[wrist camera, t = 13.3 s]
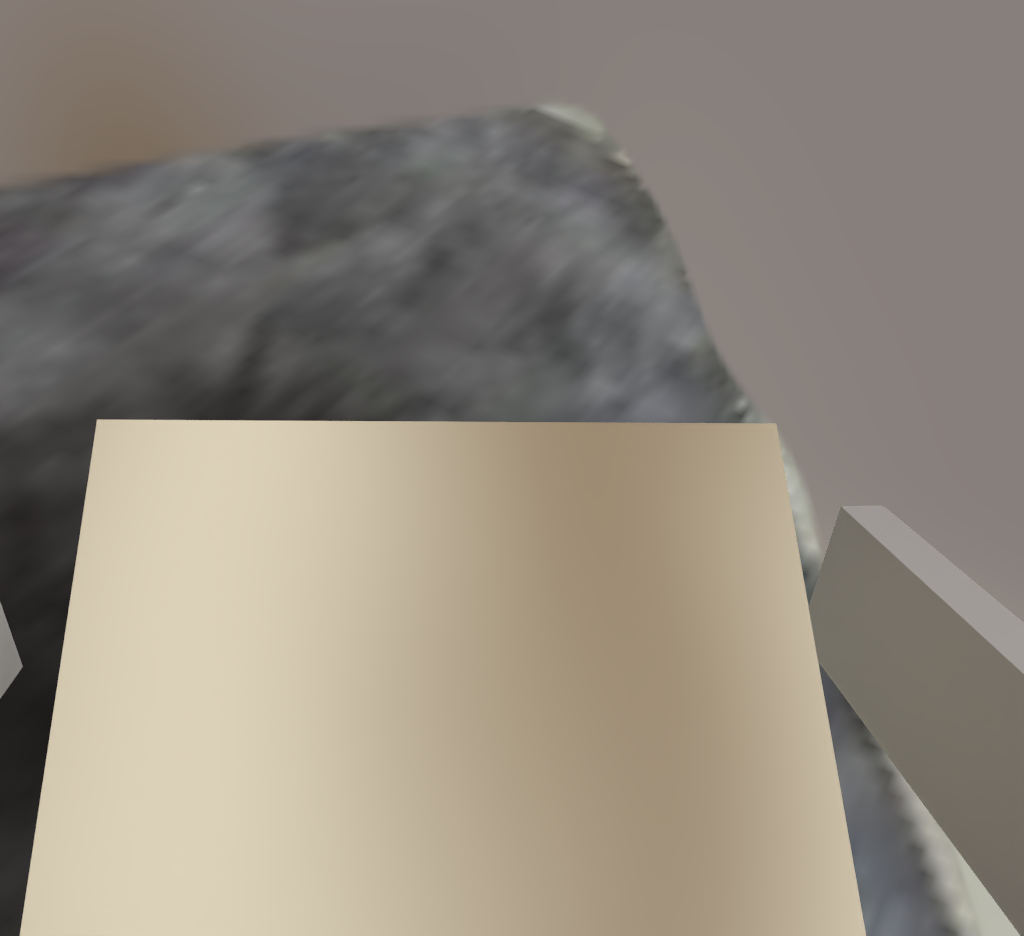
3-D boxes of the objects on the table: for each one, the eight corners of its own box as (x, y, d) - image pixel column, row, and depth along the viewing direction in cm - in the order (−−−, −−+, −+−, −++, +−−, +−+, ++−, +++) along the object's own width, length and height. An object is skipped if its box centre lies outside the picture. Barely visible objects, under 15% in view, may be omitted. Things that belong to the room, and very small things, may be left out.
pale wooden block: (299, 874, 15) (-52, 1415, 4) (310, 600, 17) (96, 419, 6) (564, 852, 16) (920, 1245, 5) (548, 593, 18) (776, 424, 6)
